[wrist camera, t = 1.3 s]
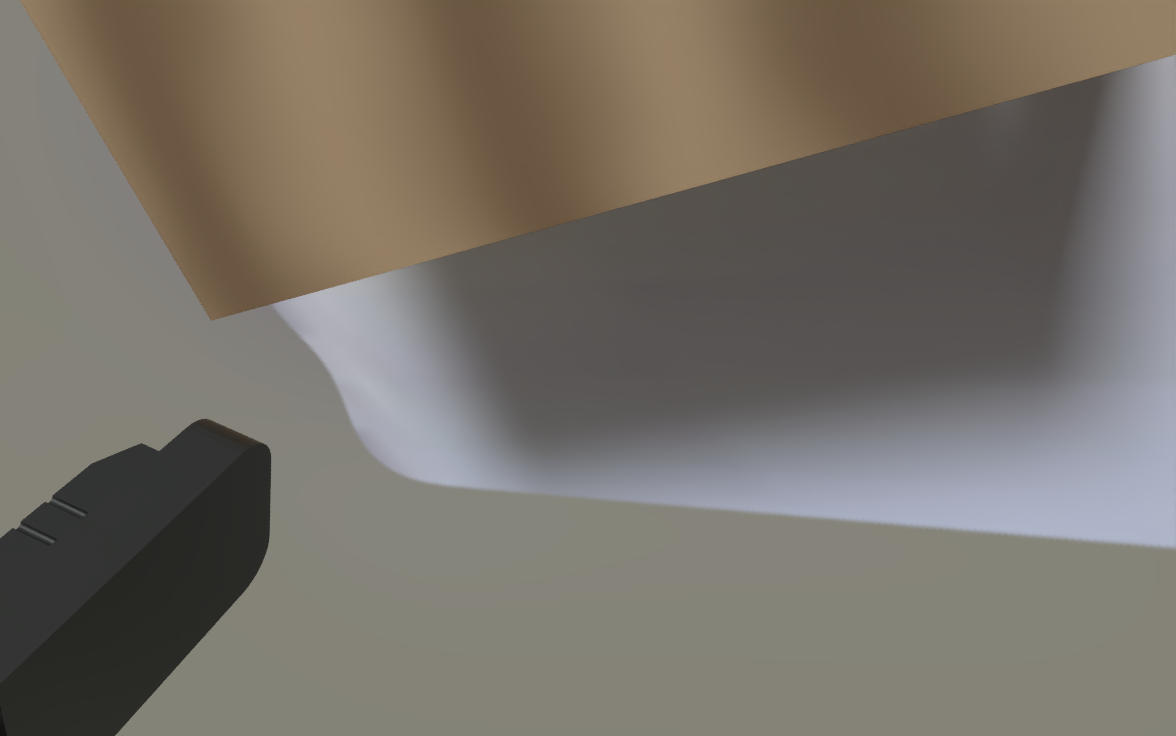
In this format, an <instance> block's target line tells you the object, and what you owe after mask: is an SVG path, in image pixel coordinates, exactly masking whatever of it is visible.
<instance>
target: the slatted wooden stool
mask: <svg viewBox="0 0 1176 736" xmlns="http://www.w3.org/2000/svg"><path fill="white" fill-rule="evenodd" d="M20 1H21V3H22V5H23V7H24V8H25V10H26V12H27V13H28V15H29V17H30V18H31V20H32V22H33V23H34V25H35V27H36V28H37V30H38V32H39V33H40V35H41V37H42V38H43V40H44V42H45V43H46V45H47V47H48V48H49V50H50V52H51V53H52V55H53V57H54V58H55V60H56V62H57V63H58V65H59V67H60V68H61V70H62V72H63V73H64V75H65V77H66V79H67V80H68V82H69V84H70V85H71V87H72V88H73V90H74V91H75V94H76V95H77V97H78V99H79V100H80V102H81V104H82V105H83V107H84V109H85V110H86V112H87V113H88V115H89V117H90V119H91V120H92V122H93V124H94V125H95V127H96V129H97V130H98V132H99V134H100V135H101V137H102V139H103V140H104V142H105V144H106V145H107V147H108V149H109V150H110V152H111V154H112V156H113V157H114V159H115V161H116V162H117V164H118V165H119V167H120V169H121V171H122V172H123V174H124V176H125V177H126V179H127V181H128V182H129V184H130V186H131V187H132V189H133V190H134V192H135V194H136V196H137V197H138V199H139V201H140V202H141V204H142V206H143V207H144V209H145V211H146V212H147V214H148V216H149V217H150V219H151V221H152V222H153V224H154V226H155V227H156V229H157V231H158V233H159V234H160V236H161V238H162V239H163V241H164V243H165V244H166V246H167V247H168V249H169V251H170V253H171V254H172V256H173V258H174V259H175V261H176V263H177V264H178V266H179V268H180V269H181V271H182V273H183V274H184V276H185V278H186V279H187V281H188V283H189V284H190V286H191V288H192V289H193V291H194V293H195V294H196V296H197V298H198V299H199V301H200V303H201V305H202V306H203V308H204V309H205V311H206V313H207V314H208V316H209V318H210V320H215V319H219V318H222V317H226V316H229V315H233V314H237V313H240V312H243V311H247V310H251V309H255V308H258V307H262V306H266V305H269V304H273V303H277V302H280V301H284V300H287V299H291V298H295V297H298V296H302V295H306V294H309V293H313V292H316V291H320V290H324V289H327V288H331V287H335V286H338V285H342V284H345V283H349V282H353V281H356V280H360V279H364V278H367V277H371V276H375V275H378V274H382V273H385V272H389V271H393V270H396V269H400V268H404V267H407V266H411V265H414V264H418V263H422V262H425V261H429V260H433V259H436V258H440V257H443V256H447V255H451V254H454V253H458V252H462V251H465V250H469V249H472V248H476V247H480V246H483V245H487V244H491V243H494V242H498V241H501V240H505V239H509V238H512V237H516V236H520V235H523V234H527V233H530V232H534V231H538V230H541V229H545V228H549V227H552V226H556V225H559V224H563V223H567V222H570V221H574V220H578V219H581V218H585V217H588V216H592V215H596V214H599V213H603V212H607V211H610V210H614V209H617V208H621V207H625V206H628V205H632V204H636V203H639V202H643V201H646V200H650V199H654V198H657V197H661V196H665V195H668V194H672V193H675V192H679V191H683V190H686V189H690V188H694V187H697V186H701V185H705V184H708V183H712V182H715V181H719V180H723V179H726V178H730V177H734V176H737V175H741V174H744V173H748V172H752V171H755V170H759V169H763V168H766V167H770V166H773V165H777V164H781V163H784V162H788V161H792V160H795V159H799V158H802V157H806V156H810V155H813V154H817V153H821V152H824V151H828V150H831V149H835V148H839V147H842V146H846V145H850V144H853V143H857V142H860V141H864V140H868V139H871V138H875V137H879V136H882V135H886V134H889V133H893V132H897V131H900V130H904V129H908V128H911V127H915V126H918V125H922V124H926V123H929V122H933V121H937V120H940V119H944V118H947V117H951V116H955V115H958V114H962V113H966V112H969V111H973V110H976V109H980V108H984V107H987V106H991V105H995V104H998V103H1002V102H1005V101H1009V100H1013V99H1016V98H1020V97H1024V96H1027V95H1031V94H1034V93H1038V92H1042V91H1045V90H1049V89H1053V88H1056V87H1060V86H1064V85H1067V84H1071V83H1074V82H1078V81H1082V80H1085V79H1089V78H1093V77H1096V76H1100V75H1103V74H1107V73H1111V72H1114V71H1118V70H1122V69H1125V68H1129V67H1132V66H1136V65H1140V64H1143V63H1147V62H1151V61H1154V60H1158V59H1161V58H1165V57H1169V56H1172V55H1176V0H20Z"/></svg>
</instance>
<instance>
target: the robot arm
mask: <svg viewBox="0 0 1176 736" xmlns="http://www.w3.org/2000/svg"><path fill="white" fill-rule="evenodd" d="M270 487H271V453H270V450H269V448H268V446H267V445H265V444H263V443H261V442H258V441H256V440H254V439H252V438H249V437H247V436H245V435H243V434H241V433H238V432H236V431H234V430H232V429H229V428H227V427H225V426H223V425H220V424H218V423H216V422H214V421H211V420H208V419H201V420H198V421H196V422H194V423H192V424H191V425H190V426H188V427H187V428H186V429H185V430H183V431H182V432H181V433H180V434H179V435H178V436H177V437H175V438H174V439H173V440H172V441H171V442H169V443H168V444H167V445H166V446H165V447H164V448H163V449H161V450H160V451H157V450H155V449H153V448H150V447H148V446H146V445H144V444H142V443H141V444H139V445H136V446H133V447H131V448H129V449H126V450H124V451H121V452H119V453H116V454H114V455H112V456H109V457H107V458H105V459H102V460H100V461H97V462H95V463H92V464H91V465H89V466H88V467H87V468H86V469H85V470H83V471H82V472H81V473H80V474H78V475H77V476H76V477H75V478H74V479H73V480H71V481H70V482H69V483H67V484H66V485H65V486H64V487H63V488H61V489H60V490H59V491H58V492H56V493H55V494H54V495H53V497H52V500H51V501H50V502H49V503H46V502H44V503H43V504H42V505H40V506H39V507H38V508H37V509H36V510H34V511H33V512H32V513H31V514H29V515H28V516H27V517H26V518H25V519H23V520H22V521H21V524H20V526H19V528H17V529H14V528H13V529H11V530H10V531H9V532H7V533H6V534H5V535H4V536H3V537H1V538H0V736H115V735H116V734H117V733H118V732H119V731H120V729H121V728H122V727H123V726H124V725H125V724H126V723H127V722H128V721H129V719H130V718H131V717H132V716H133V715H134V714H135V713H136V712H137V710H138V709H139V708H140V707H141V706H142V705H143V704H144V703H145V702H146V701H147V699H148V698H149V697H150V696H151V695H152V694H153V693H154V692H155V690H156V689H157V688H158V687H159V686H160V685H161V684H162V683H163V681H164V680H165V679H166V678H167V677H168V676H169V675H170V674H171V673H172V671H173V670H174V669H175V668H176V667H177V666H178V665H179V664H180V663H181V661H182V660H183V659H184V658H185V657H186V656H187V655H188V654H189V653H190V651H191V650H192V649H193V648H194V647H195V646H196V645H197V644H198V642H199V641H200V640H201V639H202V638H203V637H204V636H205V635H206V633H207V632H208V631H209V630H210V629H211V628H212V627H213V626H214V625H215V623H216V622H217V621H218V620H219V619H220V618H221V617H222V616H223V615H224V613H225V612H226V611H227V610H228V609H229V608H230V607H231V606H232V604H233V603H234V602H235V601H236V600H237V599H238V598H239V597H240V596H241V595H242V593H243V592H244V591H245V590H246V588H247V587H248V586H249V584H250V583H251V582H252V580H253V579H254V577H255V576H256V574H257V572H258V570H259V568H260V566H261V564H262V562H263V559H264V557H265V554H266V551H267V548H268V543H269V533H270V489H271V488H270Z"/></svg>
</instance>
